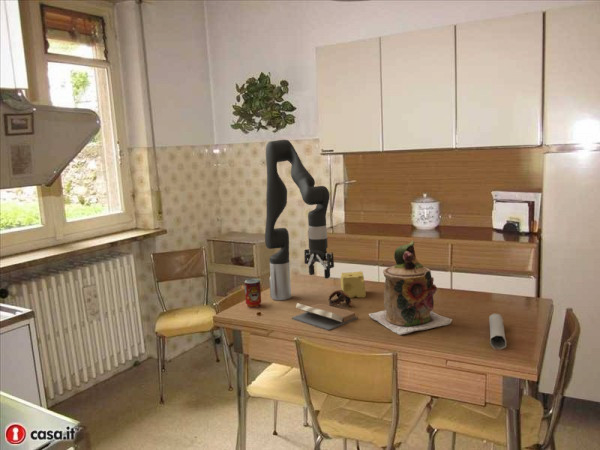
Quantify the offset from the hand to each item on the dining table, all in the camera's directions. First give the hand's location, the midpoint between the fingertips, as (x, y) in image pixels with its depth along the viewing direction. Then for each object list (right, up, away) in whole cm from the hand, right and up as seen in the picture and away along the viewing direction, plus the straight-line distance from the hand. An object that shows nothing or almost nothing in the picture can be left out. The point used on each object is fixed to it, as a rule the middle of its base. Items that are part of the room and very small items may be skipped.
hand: (319, 276), depth 200 cm
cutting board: (+2, -18, +5) cm, 19 cm away
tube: (+63, -20, -20) cm, 69 cm away
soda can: (-29, -16, +27) cm, 42 cm away
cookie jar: (+36, -18, -2) cm, 40 cm away
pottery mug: (+10, -15, +20) cm, 28 cm away
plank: (0, -16, +2) cm, 16 cm away
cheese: (+17, -13, +36) cm, 42 cm away
